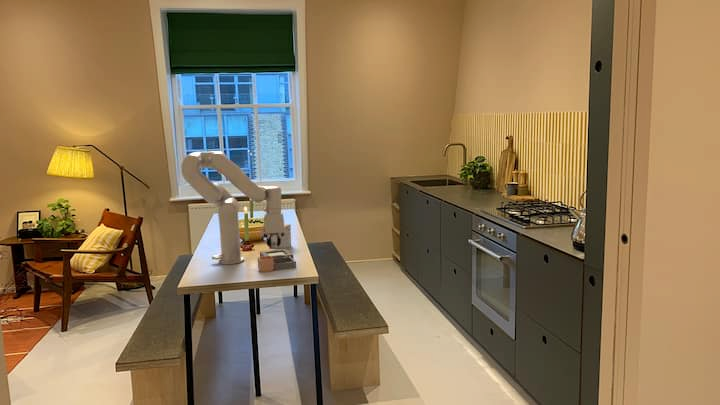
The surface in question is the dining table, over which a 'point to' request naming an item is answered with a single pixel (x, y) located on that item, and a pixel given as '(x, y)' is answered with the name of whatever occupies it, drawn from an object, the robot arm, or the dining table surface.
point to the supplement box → (286, 237)
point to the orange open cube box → (265, 264)
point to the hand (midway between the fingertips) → (273, 245)
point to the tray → (284, 263)
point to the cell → (273, 241)
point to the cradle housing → (287, 254)
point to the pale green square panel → (276, 254)
